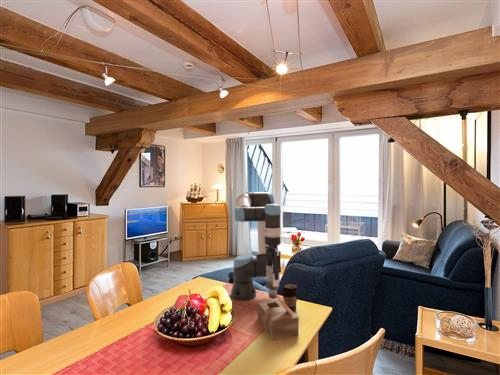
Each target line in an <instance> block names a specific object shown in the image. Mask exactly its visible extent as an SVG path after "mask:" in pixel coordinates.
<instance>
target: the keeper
mask: <svg viewBox="0 0 500 375" xmlns="http://www.w3.org/2000/svg"><path fill="white" fill-rule="evenodd" d="M276 297H277V298H276V299H277V300H279V301H280V302H281V304H282V305H283V307H284V308H285V309H286V311H287V312H288V313H289V314H290V315H291V316H292V315H293V314H292V312H291V311H290V309H289V308H288V307H287V305H286V304H285V302H284V299H283V298H282V297H280V296H279V295H277V296H276Z"/></svg>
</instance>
